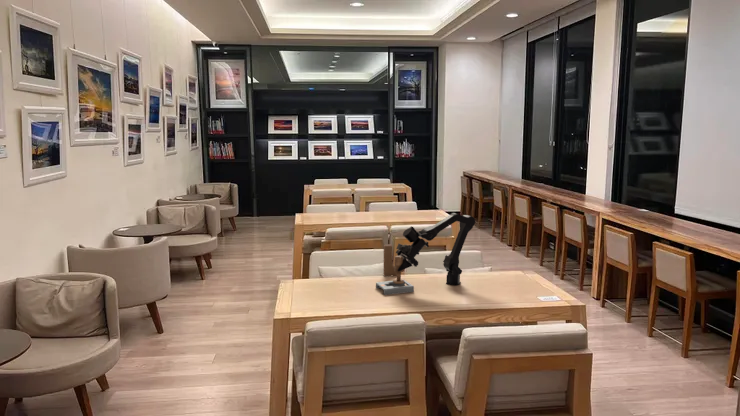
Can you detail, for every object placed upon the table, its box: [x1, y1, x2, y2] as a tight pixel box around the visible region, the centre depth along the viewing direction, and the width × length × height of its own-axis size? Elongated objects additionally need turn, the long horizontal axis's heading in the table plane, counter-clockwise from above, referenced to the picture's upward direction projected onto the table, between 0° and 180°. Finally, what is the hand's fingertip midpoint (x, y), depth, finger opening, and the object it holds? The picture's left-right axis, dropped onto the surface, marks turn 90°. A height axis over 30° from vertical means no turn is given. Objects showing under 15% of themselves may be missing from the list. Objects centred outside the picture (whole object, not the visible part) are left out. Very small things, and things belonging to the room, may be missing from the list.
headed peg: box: [392, 255, 405, 284], centre depth 287 cm, size 6×6×14 cm
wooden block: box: [383, 243, 397, 277], centre depth 316 cm, size 9×4×18 cm, turn 95°
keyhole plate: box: [375, 279, 415, 296], centre depth 288 cm, size 16×13×3 cm
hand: (396, 269), depth 287 cm, fingers closed on headed peg, 4 cm apart
